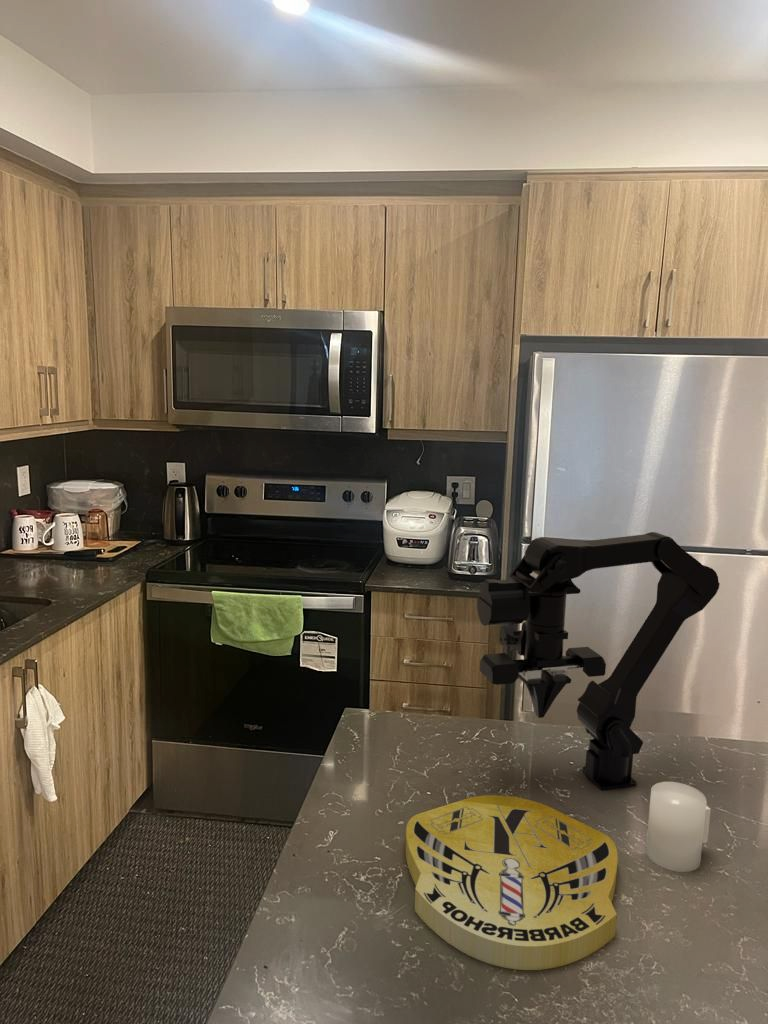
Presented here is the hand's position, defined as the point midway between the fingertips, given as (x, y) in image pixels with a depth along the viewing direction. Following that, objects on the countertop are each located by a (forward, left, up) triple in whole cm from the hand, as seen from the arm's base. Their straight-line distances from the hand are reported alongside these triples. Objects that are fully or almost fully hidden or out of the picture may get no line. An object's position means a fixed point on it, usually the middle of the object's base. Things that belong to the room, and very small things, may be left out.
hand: (539, 716), depth 117 cm
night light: (-11, +20, -12) cm, 26 cm away
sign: (+13, +20, -13) cm, 27 cm away
